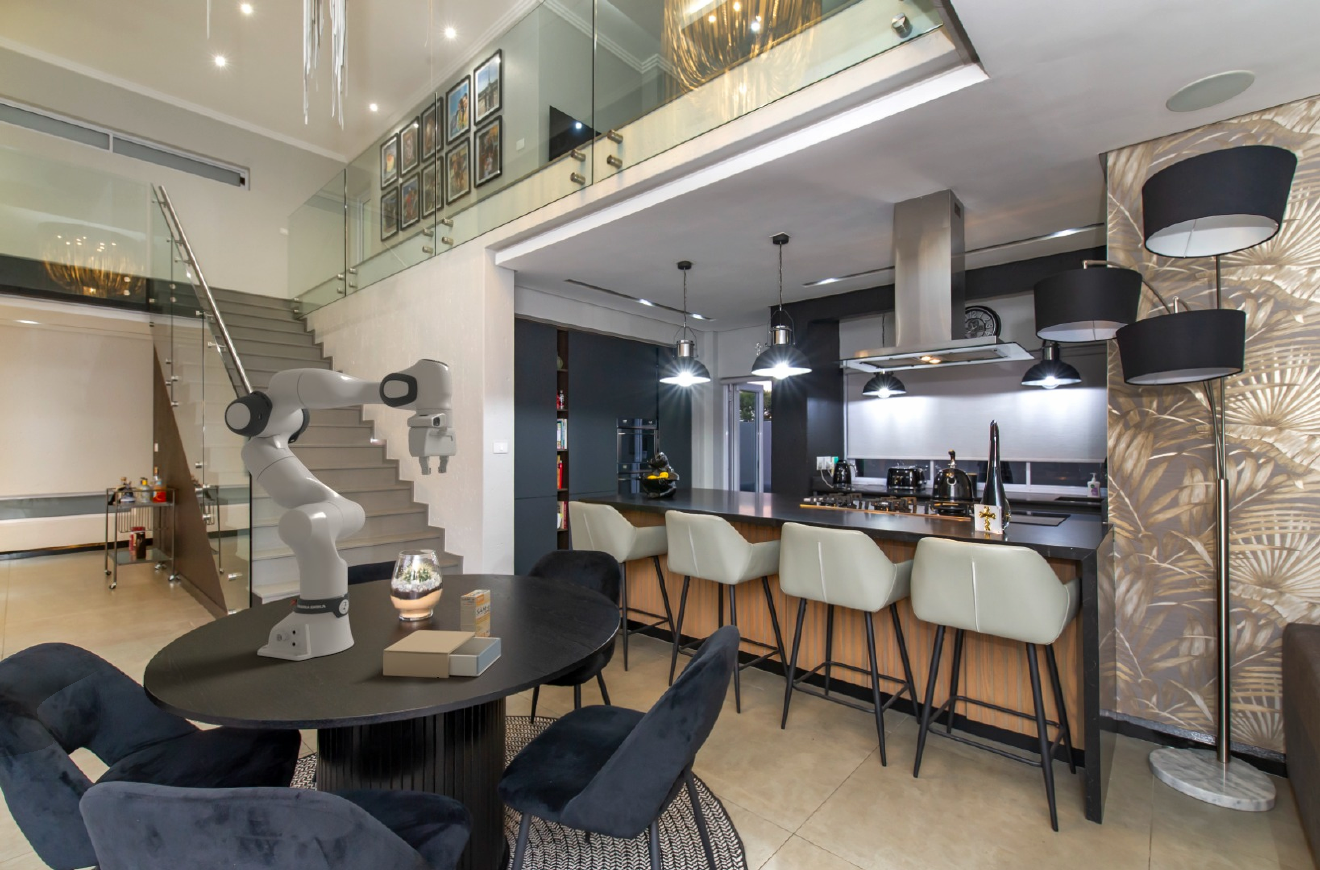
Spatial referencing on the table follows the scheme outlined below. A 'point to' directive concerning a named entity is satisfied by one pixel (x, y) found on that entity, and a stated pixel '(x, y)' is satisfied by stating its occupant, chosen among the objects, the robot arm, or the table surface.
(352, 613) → the table surface
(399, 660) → the mailer sleeve
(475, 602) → the supplement box
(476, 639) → the tray
